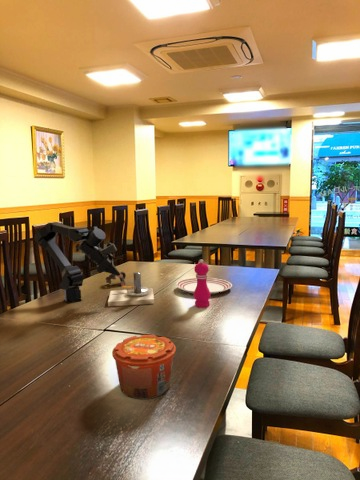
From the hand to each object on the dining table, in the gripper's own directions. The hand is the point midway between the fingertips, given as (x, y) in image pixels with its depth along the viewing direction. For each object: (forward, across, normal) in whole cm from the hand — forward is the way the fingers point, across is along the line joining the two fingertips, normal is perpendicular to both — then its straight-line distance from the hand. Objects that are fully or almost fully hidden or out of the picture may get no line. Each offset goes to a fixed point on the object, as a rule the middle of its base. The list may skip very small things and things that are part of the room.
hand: (119, 275), depth 163 cm
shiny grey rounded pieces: (+12, +5, +3) cm, 13 cm away
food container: (+16, -72, +3) cm, 74 cm away
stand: (+12, +5, +6) cm, 14 cm away
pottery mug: (+7, +34, +12) cm, 36 cm away
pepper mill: (+34, -11, -15) cm, 39 cm away
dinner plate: (+38, +14, -19) cm, 44 cm away
